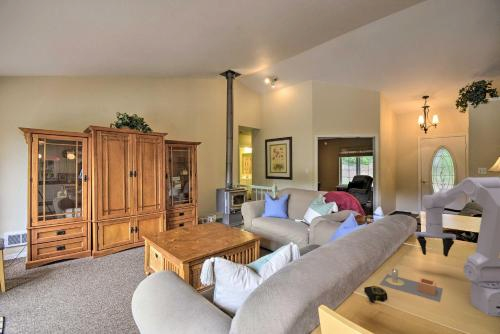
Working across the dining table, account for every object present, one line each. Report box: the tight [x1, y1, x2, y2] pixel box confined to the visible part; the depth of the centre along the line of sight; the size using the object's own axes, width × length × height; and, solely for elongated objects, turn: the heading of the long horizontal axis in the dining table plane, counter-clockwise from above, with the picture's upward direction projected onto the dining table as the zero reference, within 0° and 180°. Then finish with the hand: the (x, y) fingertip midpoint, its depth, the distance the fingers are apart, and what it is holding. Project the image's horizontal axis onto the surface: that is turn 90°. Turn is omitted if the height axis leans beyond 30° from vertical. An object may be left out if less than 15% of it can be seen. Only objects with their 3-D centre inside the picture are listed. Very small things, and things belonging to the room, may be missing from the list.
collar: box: [417, 277, 437, 296], centre depth 91 cm, size 5×5×4 cm
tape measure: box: [363, 285, 388, 304], centre depth 88 cm, size 7×7×4 cm
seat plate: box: [379, 274, 444, 303], centre depth 94 cm, size 19×12×2 cm, turn 48°
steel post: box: [391, 268, 399, 283], centre depth 98 cm, size 2×2×6 cm
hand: (434, 254), depth 104 cm, fingers open, 7 cm apart
